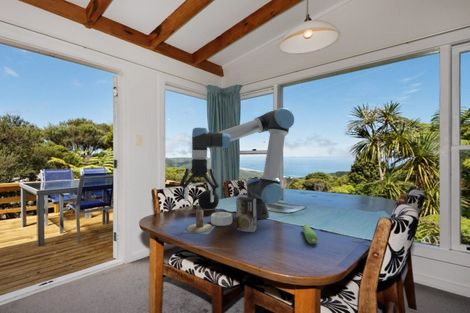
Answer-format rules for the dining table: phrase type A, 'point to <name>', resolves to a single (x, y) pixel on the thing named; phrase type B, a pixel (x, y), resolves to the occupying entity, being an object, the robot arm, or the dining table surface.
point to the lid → (199, 224)
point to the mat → (199, 233)
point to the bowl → (221, 218)
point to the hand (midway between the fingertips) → (199, 201)
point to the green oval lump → (309, 234)
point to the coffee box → (246, 214)
